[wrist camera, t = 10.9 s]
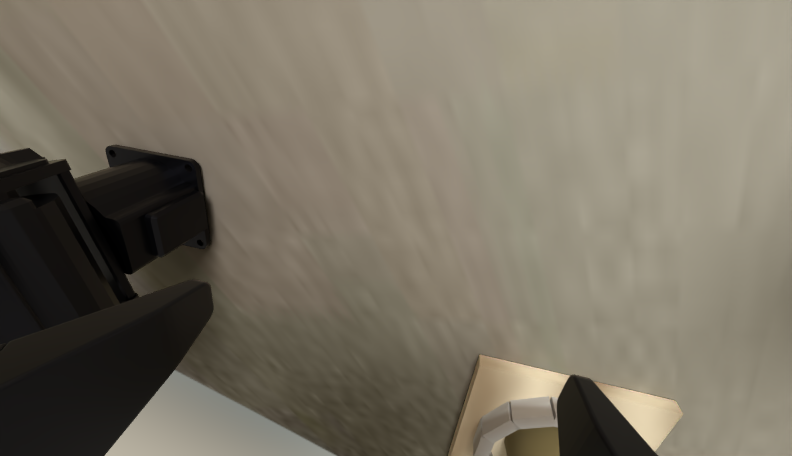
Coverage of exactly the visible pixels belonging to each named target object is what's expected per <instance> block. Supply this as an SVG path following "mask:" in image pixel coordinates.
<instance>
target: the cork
mask: <svg viewBox="0 0 792 456" xmlns="http://www.w3.org/2000/svg"><path fill="white" fill-rule="evenodd" d="M504 444H505V449H506V453H507V456H560V453H559V438H558V427H542V428H530V429H519V430H517V431H515V432H513V433H511V434H509V435H507V436H506V437H505V440H504Z"/></svg>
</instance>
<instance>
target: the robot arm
mask: <svg viewBox="0 0 792 456" xmlns="http://www.w3.org/2000/svg"><path fill="white" fill-rule="evenodd" d="M115 153H116V154H115ZM106 155H107V159H108V162H109V166H110V168H107V169H104V170H101V171H97V172H94V173H91V174H88V175H84V176H81V177H78V178H75V179H74V178H73V176H72V175H71V173H70V171H69V170H71V168H70V166H69V164H68V163H67V161H66V159H61V160H53V161H48V160H47V159H45V157H41V156H40V155H38V154H37V153H36V152H34V151H33V150H31V149H30V148H26V149H19V150H15V151H10V152H5V153H0V456H105V454H106V453H107V452H108V451H109V449H110V448H111V447H112V446H113V445H114V443H115V442H116V441H117V440H118V438H119V437H120V436H121V435H122V433H123V432H124V431H125V430H126V429H127V427H128V426H129V425H130V424H131V423H132V421H133V420H134V419H135V418H136V417H137V415H138V414H139V413H140V411H141V410H142V409H143V408H144V407H145V405H146V404H147V403H148V402H149V401H150V399H151V398H152V397H153V396H154V395H155V393H156V392H157V391H158V389H159V388H160V387H161V386H162V385H163V384H164V382H165V381H166V380H167V379H168V377H169V376H170V375H171V374H172V372H173V371H174V370H175V369H176V367H177V366H178V364H179V363H180V362H181V360H182V359H183V357H184V356H185V354H186V353H187V351H188V350H189V348H190V347H191V345H192V344H193V342H194V341H195V339H196V338H197V337H198V335H199V334H200V332H201V331H202V329H203V328H204V326H205V325H206V323H207V322H208V320H209V319H210V317H211V315H212V313H213V308H214V306H213V299H212V292H211V286H210V284H209V283H207V282H204V281H200V280H196V279H192V280H189V281H186V282H183V283H180V284H177V285H174V286H171V287H168V288H165V289H162V290H159V291H156V292H153V293H150V294H148V295H145V296H142V297H139V296H138V294H137V293H135V292H134V290H133V289H132V287H131V285H130V283H129V281H128V279H127V277H126V275H125V274H133V273H134V272H136V271H137V270H139V269H140V268H142V267H144V266H145V265H147V264H148V263H150V262H151V261H153V260H155V259H156V258H158V257H164V256H165V255H167V254H169V253H170V252H172V251H173V250H175V249H176V248H178V247H179V246H181V245H186V246H190V247H195V248H199V249H205V248H206V247H208V246H209V245H210V236H209V229H208V222H207V215H206V208H205V201H204V194H203V187H202V180H201V173H200V167H199V164H198V163H197V162H196V161H195V160H193V159H190V158H184V157H179V156H173V155H168V154H163V153H157V152H152V151H147V150H141V149H136V148H131V147H125V146H120V145H111V146H108V147H106ZM189 165H190V166H191V167H192V169H191V168H190V167H189ZM124 273H125V274H124ZM557 422H558V438H559V453H560V456H658V455H657V454H656V453H655V452H654V450H653V449H652V448H651V447H650V446H649V445H648V444H647V442H646V441H645V440H644V439H643V438H642V437H641V436H640V434H639V433H638V432H637V431H636V430H635V429H634V427H633V426H632V425H631V424H630V423H629V422H628V421H627V419H626V418H625V417H624V416H623V415H622V414H621V413H620V411H619V410H618V409H617V408H616V407H615V406H614V404H613V403H612V402H611V401H610V400H609V399H608V398H607V396H606V395H605V394H604V393H603V392H602V391H601V389H600V388H599V387H598V386H597V385H596V384H595V383H594V382H593V381H592V380H591V379H589V378H586V377H582V376H578V375H571V376H569V378H568V379H567V381H566V383H565V385H564V387H563V389H562V391H561V393H560V395H559V397H558V400H557Z"/></svg>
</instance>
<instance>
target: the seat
mask: <svg viewBox="0 0 792 456" xmlns="http://www.w3.org/2000/svg"><path fill="white" fill-rule="evenodd" d="M568 378H569V375H565V374H560V373H556V372H552V371H548V370H543V369H539V368H535V367H531V366H526V365H522V364H518V363H514V362H509V361H505V360H501V359H497V358H493V357H488V356H484V355H479V358H478V361H477V364H476V367H475V371H474V374H473V377H472V380H471V383H470V386H469V390H468V393H467V396H466V399H465V402H464V406H463V409H462V412H461V415H460V418H459V422H458V425H457V428H456V431H455V434H454V437H453V441H452V444H451V447H450V450H449V453H448V456H507V453H506V449H505V444H504V440H505V437H506V436H507V435H509V434H511V433H513V432H515V431H517V430H519V429H530V428H542V427H558V422H557V400H558V397H559V395H560V393H561V391H562V389H563V387H564V385H565V383H566V381H567V379H568ZM593 382H594V381H593ZM594 383H595V384H596V385H597V386H598V387H599V388H600V389H601V391H602V392H603V393H604V394H605V395H606V396H607V398H608V399H609V400H610V401H611V402H612V403H613V404H614V406H615V407H616V408H617V409H618V410H619V411H620V413H621V414H622V415H623V416H624V417H625V418H626V419H627V421H628V422H629V423H630V424H631V425H632V426H633V427H634V429H635V430H636V431H637V432H638V433H639V434H640V436H641V437H642V438H643V439H644V440H645V441H646V442H647V444H648V445H649V446H650V447H651V448H652V449H653V450H654V452H655V451H656V449H657V448H658V447H659V445H660V444H661V443H662V441H663V440H664V439H665V437H666V436H667V435H668V433H669V432H670V431H671V430H672V428H673V427H674V426H675V424H676V423H677V422H678V420H679V419H680V418H681V416H682V415H683V413H682V411H681V409H680V408H679V406H678V404H677V403H676V401H675V400H670V399H666V398H662V397H658V396H653V395H649V394H645V393H641V392H636V391H632V390H628V389H624V388H620V387H615V386H611V385H607V384H603V383H598V382H594Z"/></svg>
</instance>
